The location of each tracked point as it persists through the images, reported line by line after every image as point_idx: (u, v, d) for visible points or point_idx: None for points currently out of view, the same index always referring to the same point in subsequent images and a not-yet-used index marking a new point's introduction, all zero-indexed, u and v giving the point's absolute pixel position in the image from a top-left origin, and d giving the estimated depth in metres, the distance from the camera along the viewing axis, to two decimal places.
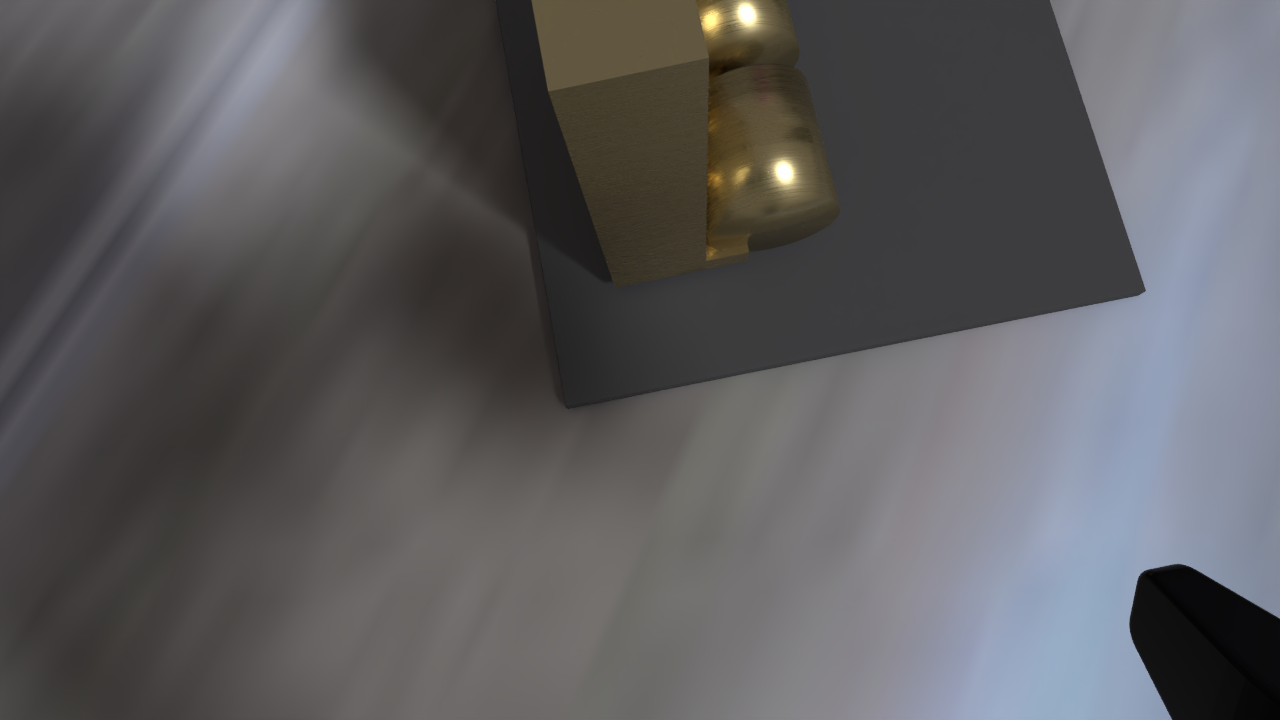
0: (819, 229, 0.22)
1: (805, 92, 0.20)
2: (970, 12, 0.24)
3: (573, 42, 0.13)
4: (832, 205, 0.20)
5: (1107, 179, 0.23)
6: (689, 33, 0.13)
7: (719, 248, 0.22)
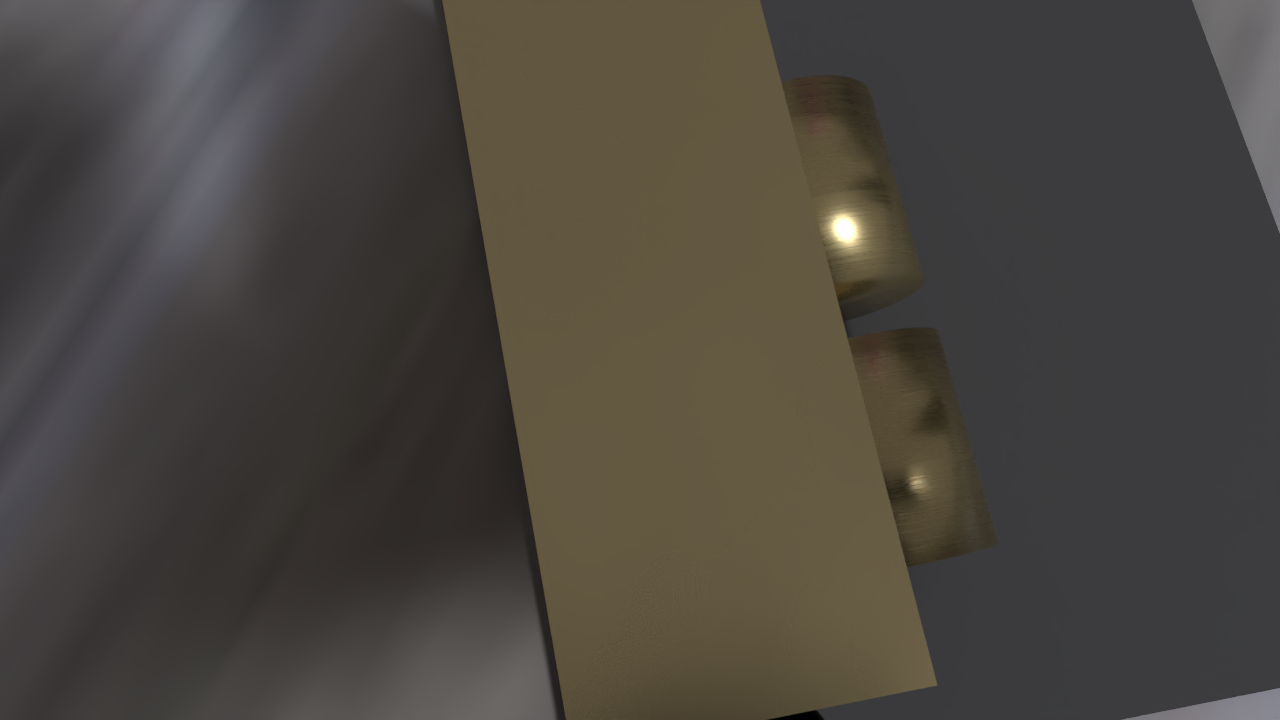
0: None
1: (943, 364, 0.13)
2: (1155, 219, 0.17)
3: (626, 634, 0.06)
4: None
5: None
6: (887, 620, 0.06)
7: None
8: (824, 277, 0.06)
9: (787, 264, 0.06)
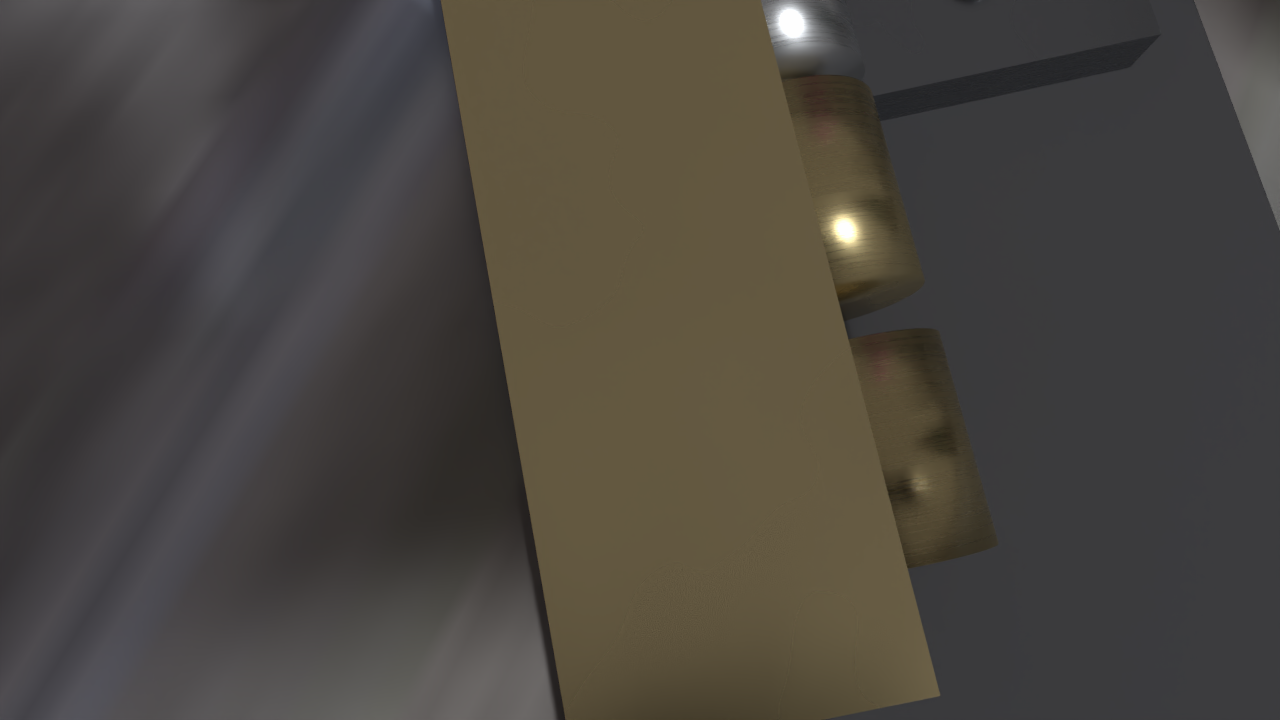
0: None
1: (943, 365, 0.13)
2: (1255, 508, 0.15)
3: (629, 644, 0.06)
4: None
5: None
6: (890, 630, 0.06)
7: None
8: (827, 284, 0.06)
9: (789, 271, 0.06)
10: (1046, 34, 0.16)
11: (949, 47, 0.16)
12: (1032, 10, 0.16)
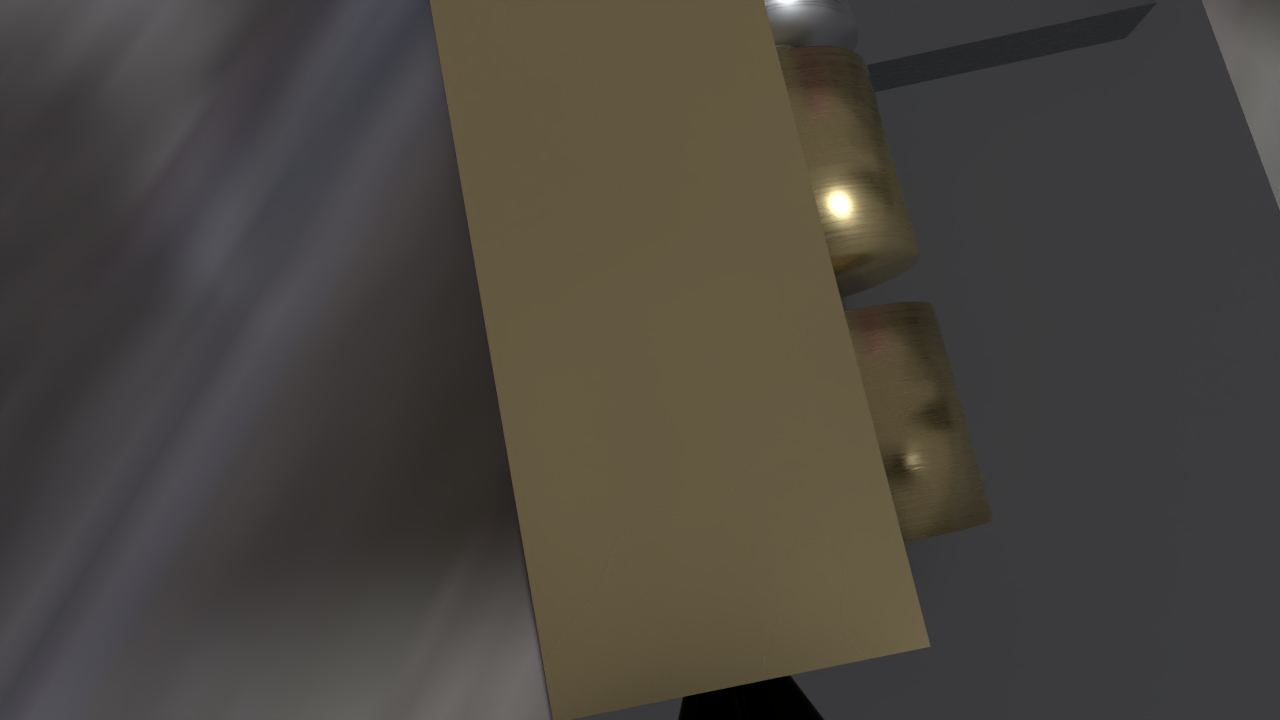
0: None
1: (939, 339, 0.13)
2: (1250, 480, 0.15)
3: (610, 594, 0.06)
4: None
5: None
6: (878, 578, 0.05)
7: None
8: (815, 228, 0.06)
9: (777, 215, 0.06)
10: (1041, 2, 0.16)
11: (943, 15, 0.16)
12: None
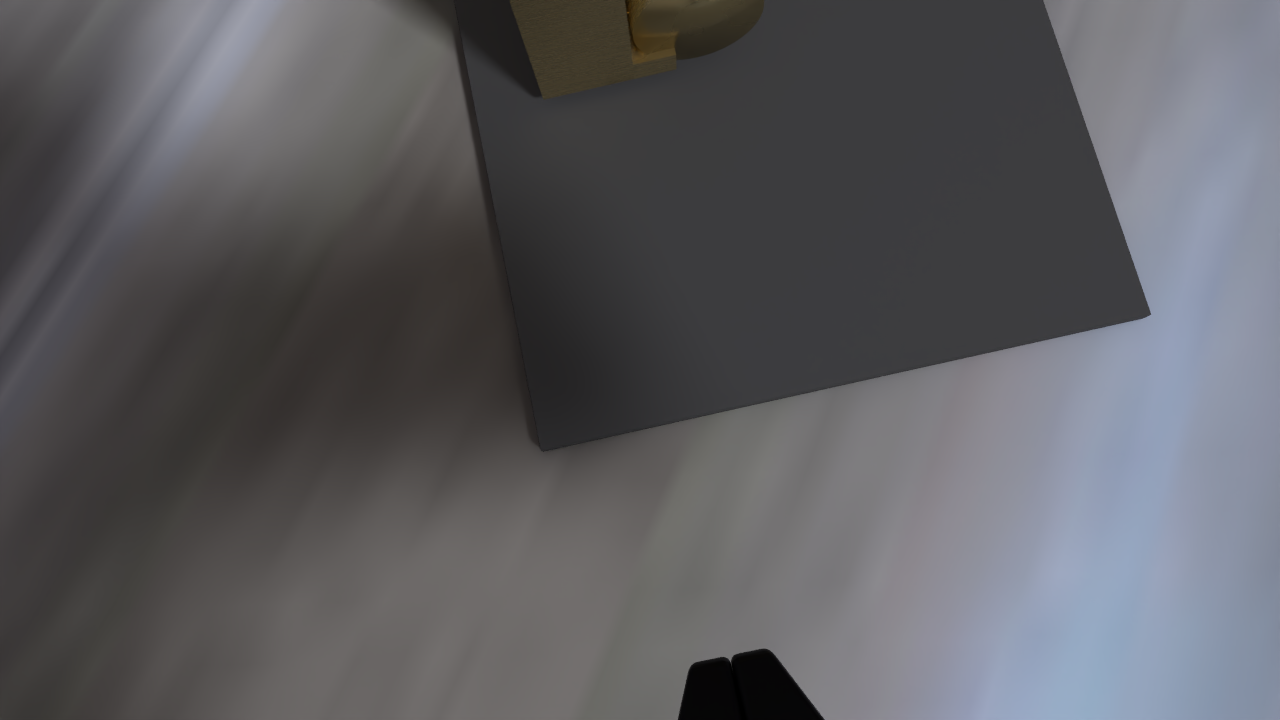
0: (746, 30, 0.21)
1: None
2: (961, 18, 0.22)
3: None
4: None
5: (1108, 195, 0.21)
6: None
7: (645, 51, 0.21)
8: None
9: None
10: None
11: None
12: None
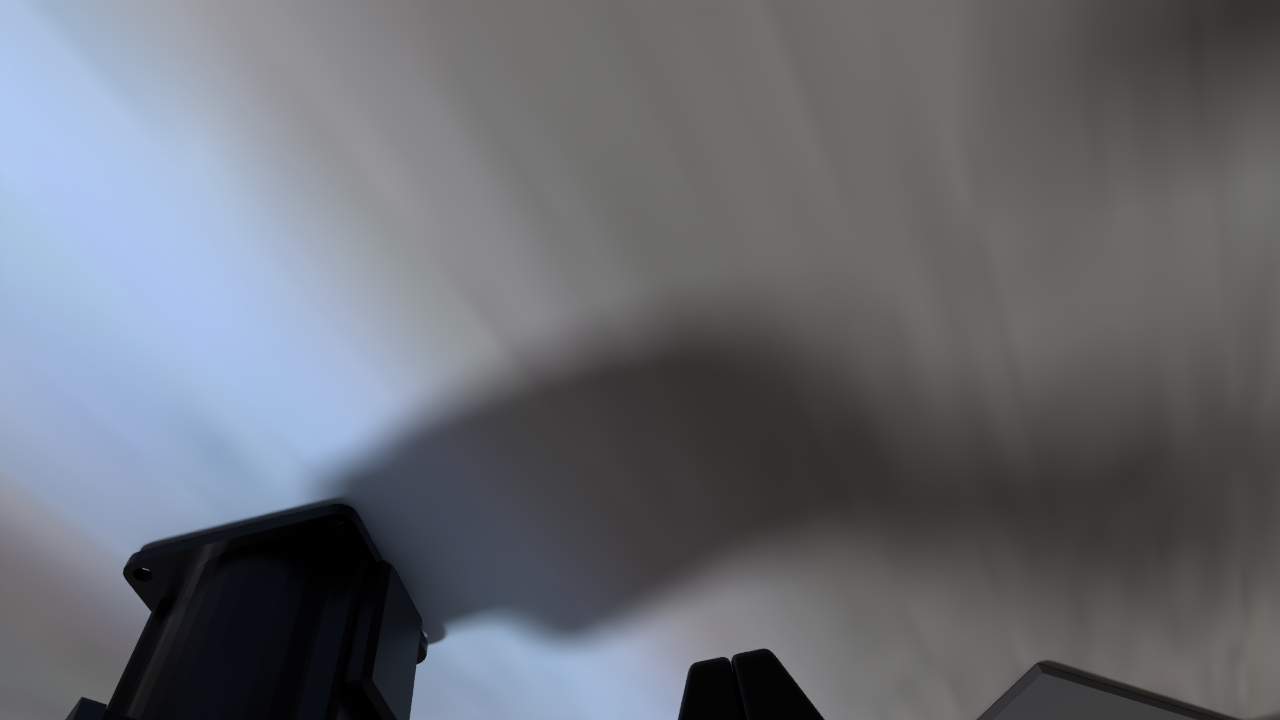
0: None
1: None
2: None
3: None
4: None
5: None
6: None
7: None
8: None
9: None
10: None
11: None
12: None
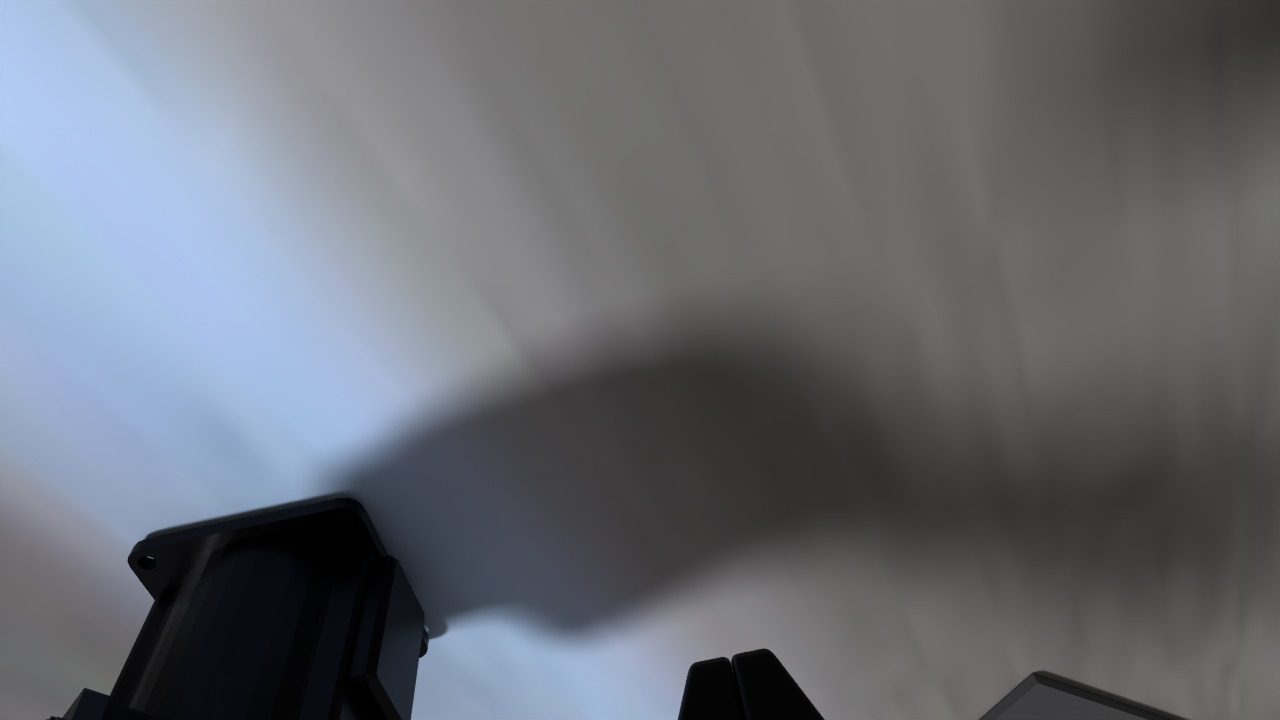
0: None
1: None
2: None
3: None
4: None
5: None
6: None
7: None
8: None
9: None
10: None
11: None
12: None
